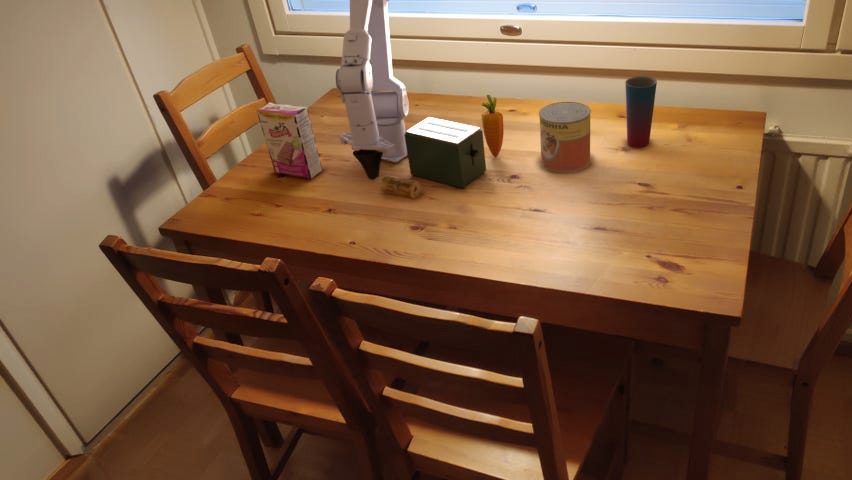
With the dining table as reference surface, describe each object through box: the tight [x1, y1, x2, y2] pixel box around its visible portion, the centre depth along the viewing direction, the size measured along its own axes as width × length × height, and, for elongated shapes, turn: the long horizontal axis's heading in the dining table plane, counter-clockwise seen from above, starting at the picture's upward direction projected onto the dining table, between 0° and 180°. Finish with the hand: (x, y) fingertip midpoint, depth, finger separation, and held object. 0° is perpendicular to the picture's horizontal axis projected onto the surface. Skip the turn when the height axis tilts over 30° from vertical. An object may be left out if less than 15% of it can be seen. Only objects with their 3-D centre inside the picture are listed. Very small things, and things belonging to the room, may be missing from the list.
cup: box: [624, 75, 658, 149], centre depth 157 cm, size 7×7×15 cm
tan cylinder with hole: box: [379, 174, 421, 200], centre depth 150 cm, size 8×4×4 cm, turn 62°
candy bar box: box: [256, 102, 323, 180], centre depth 160 cm, size 11×5×16 cm, turn 65°
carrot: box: [481, 93, 505, 158], centre depth 158 cm, size 5×5×15 cm
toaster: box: [404, 116, 487, 190], centre depth 154 cm, size 16×9×11 cm, turn 55°
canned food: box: [538, 101, 592, 174], centre depth 154 cm, size 11×11×12 cm
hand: (374, 177), depth 154 cm, fingers closed
